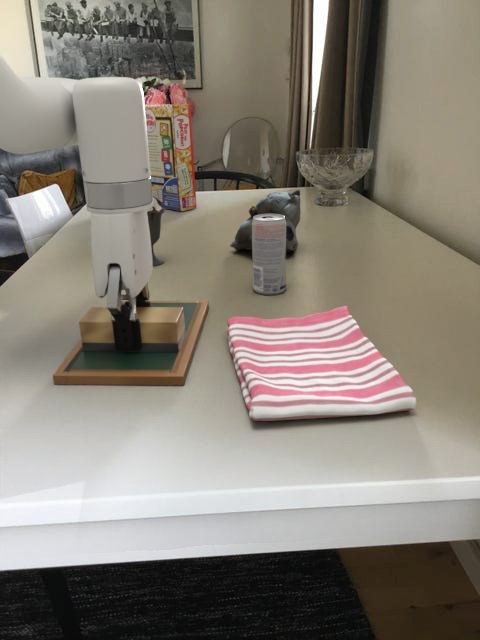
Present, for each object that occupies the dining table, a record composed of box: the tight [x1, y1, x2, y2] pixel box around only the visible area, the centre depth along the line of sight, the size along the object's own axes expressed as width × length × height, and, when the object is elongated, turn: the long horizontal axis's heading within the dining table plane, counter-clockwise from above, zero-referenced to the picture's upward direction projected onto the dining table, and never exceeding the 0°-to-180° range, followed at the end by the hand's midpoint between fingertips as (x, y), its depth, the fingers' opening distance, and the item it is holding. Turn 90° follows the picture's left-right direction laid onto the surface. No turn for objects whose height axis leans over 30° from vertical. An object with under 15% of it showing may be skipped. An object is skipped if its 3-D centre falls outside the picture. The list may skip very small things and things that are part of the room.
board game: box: [145, 103, 197, 212], centre depth 155 cm, size 20×6×27 cm, turn 46°
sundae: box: [146, 196, 166, 267], centre depth 106 cm, size 7×7×15 cm
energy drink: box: [251, 214, 287, 296], centre depth 90 cm, size 5×5×12 cm
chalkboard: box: [52, 300, 210, 387], centre depth 75 cm, size 15×24×1 cm, turn 176°
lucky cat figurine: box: [229, 189, 302, 255], centre depth 113 cm, size 15×12×14 cm
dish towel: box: [226, 305, 417, 422], centre depth 66 cm, size 17×23×4 cm
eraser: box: [78, 306, 185, 352], centre depth 71 cm, size 12×5×4 cm, turn 86°
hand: (134, 338), depth 71 cm, fingers closed on eraser, 5 cm apart
